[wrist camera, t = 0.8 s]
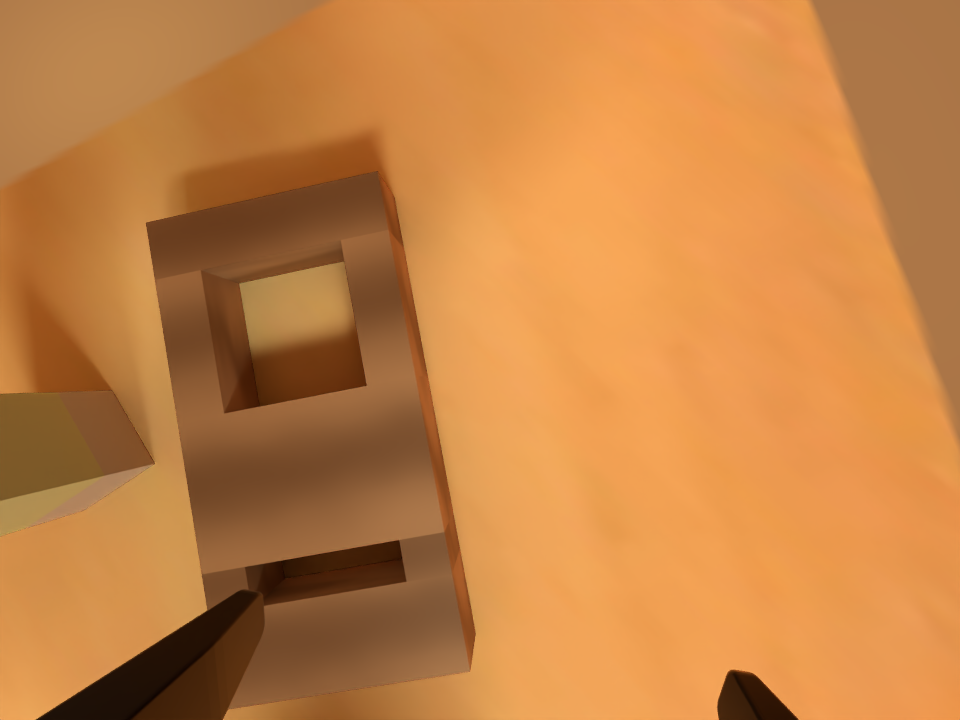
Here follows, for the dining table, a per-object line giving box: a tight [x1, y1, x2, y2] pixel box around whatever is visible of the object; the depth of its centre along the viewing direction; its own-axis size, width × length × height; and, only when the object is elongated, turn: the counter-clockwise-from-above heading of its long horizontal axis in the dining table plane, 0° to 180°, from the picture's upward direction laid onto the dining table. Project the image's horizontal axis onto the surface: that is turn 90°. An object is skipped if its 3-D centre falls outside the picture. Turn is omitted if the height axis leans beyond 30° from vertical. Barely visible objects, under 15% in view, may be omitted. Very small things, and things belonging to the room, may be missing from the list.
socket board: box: [146, 171, 476, 709], centre depth 22 cm, size 22×11×3 cm, turn 11°
